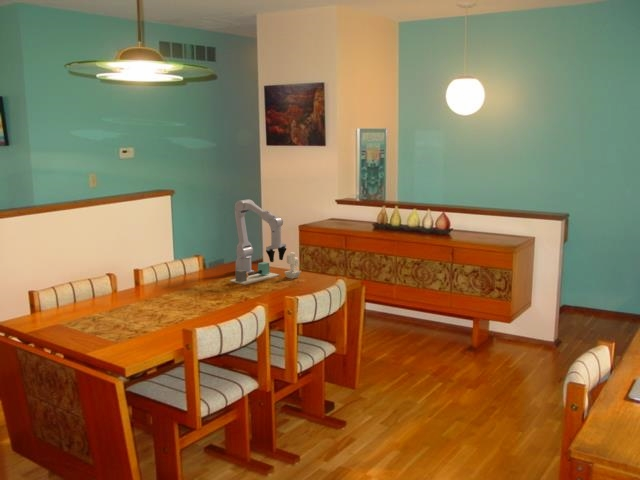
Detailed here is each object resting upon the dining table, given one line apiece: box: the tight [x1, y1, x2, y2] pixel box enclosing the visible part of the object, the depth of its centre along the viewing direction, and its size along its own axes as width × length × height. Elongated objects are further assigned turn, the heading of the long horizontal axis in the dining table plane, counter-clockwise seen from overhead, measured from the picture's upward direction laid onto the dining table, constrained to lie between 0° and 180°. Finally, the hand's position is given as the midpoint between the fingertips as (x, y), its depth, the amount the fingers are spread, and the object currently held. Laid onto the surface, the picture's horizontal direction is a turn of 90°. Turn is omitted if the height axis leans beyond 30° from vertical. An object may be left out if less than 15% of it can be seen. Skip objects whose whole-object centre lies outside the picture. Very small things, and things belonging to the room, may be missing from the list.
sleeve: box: [257, 261, 270, 275], centre depth 376 cm, size 4×5×6 cm
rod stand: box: [229, 269, 280, 286], centre depth 371 cm, size 12×28×7 cm, turn 139°
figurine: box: [284, 251, 302, 280], centre depth 373 cm, size 7×9×15 cm
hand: (276, 260), depth 374 cm, fingers open, 7 cm apart
